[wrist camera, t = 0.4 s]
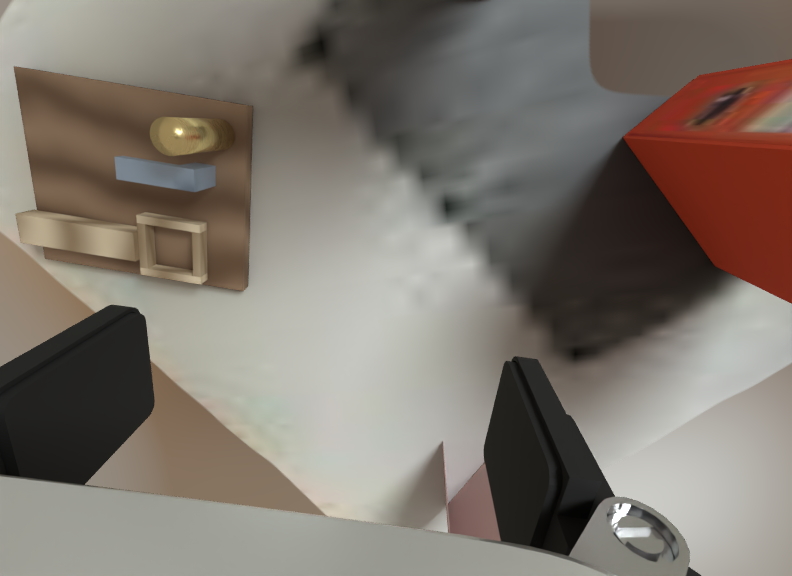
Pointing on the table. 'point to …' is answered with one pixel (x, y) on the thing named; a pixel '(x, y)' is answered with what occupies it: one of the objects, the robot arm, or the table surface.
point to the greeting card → (473, 508)
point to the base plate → (130, 136)
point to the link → (116, 240)
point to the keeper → (166, 173)
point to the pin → (190, 135)
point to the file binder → (729, 168)
